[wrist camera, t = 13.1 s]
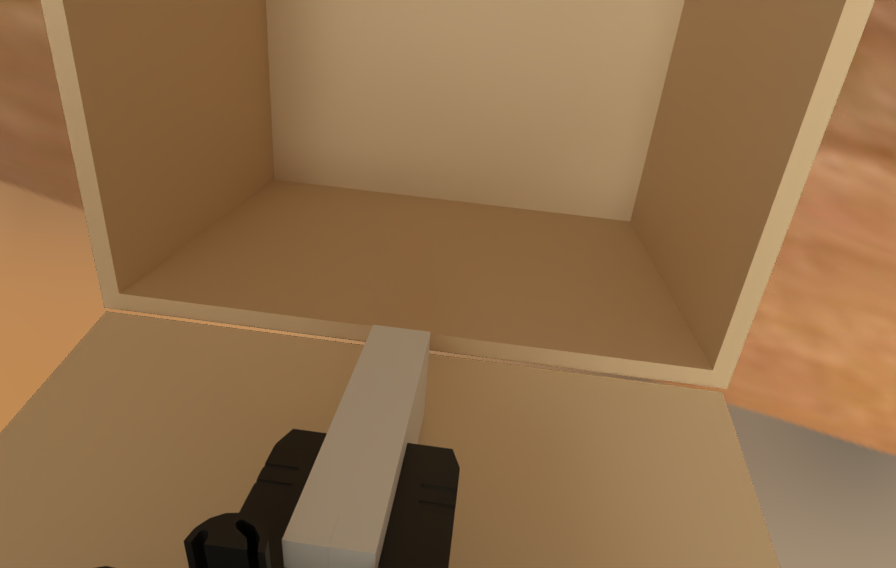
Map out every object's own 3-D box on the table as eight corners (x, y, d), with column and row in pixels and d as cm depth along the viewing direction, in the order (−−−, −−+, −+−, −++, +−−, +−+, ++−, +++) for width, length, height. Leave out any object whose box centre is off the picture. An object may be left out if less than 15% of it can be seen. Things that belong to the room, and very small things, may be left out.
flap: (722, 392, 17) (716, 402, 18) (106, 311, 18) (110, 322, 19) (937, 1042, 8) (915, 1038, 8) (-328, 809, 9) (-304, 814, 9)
